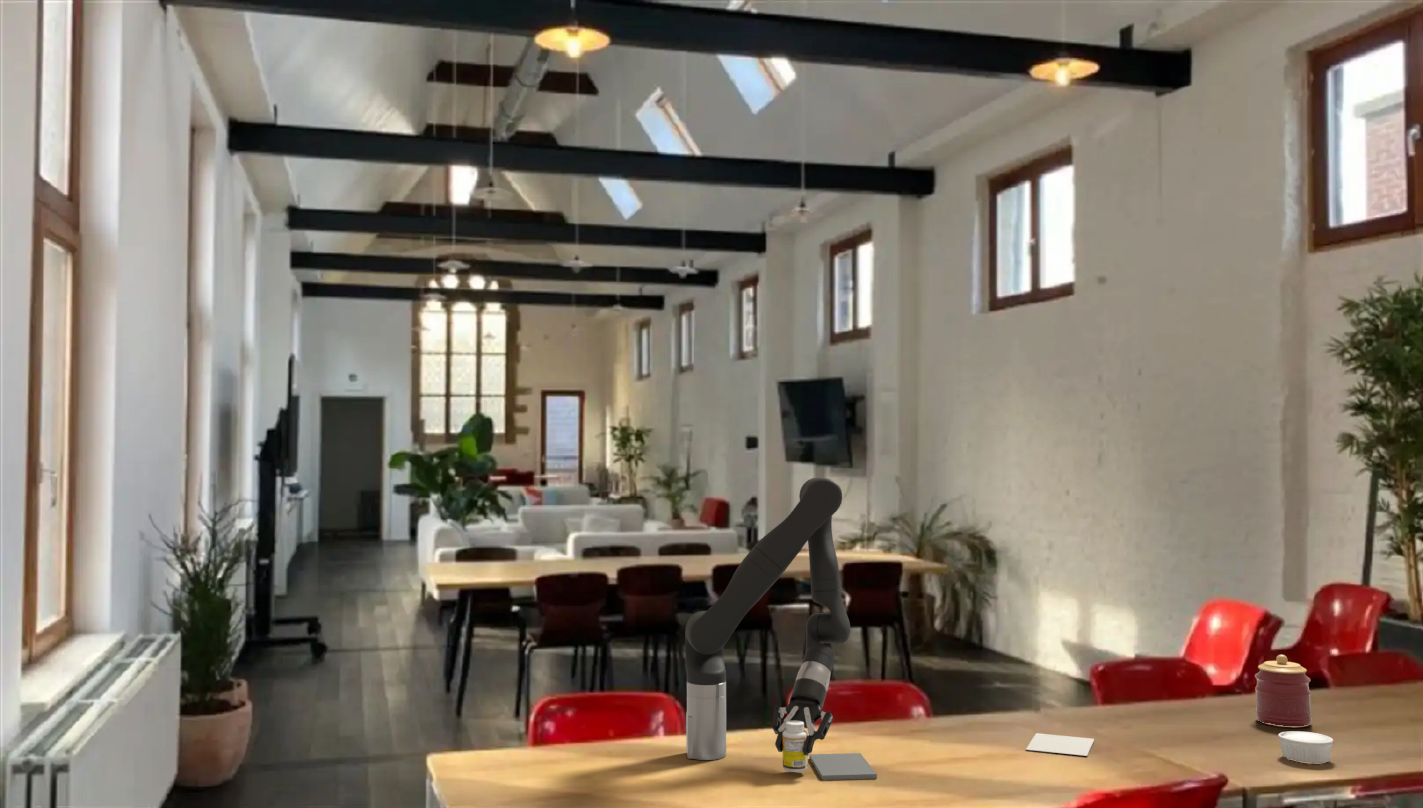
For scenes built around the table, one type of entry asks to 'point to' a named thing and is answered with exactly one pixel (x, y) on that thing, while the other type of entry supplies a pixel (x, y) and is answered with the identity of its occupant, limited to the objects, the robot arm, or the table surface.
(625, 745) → the table surface
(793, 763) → the supplement bottle
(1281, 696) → the canister
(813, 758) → the mat
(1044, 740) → the paper stack
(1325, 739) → the ramekin
